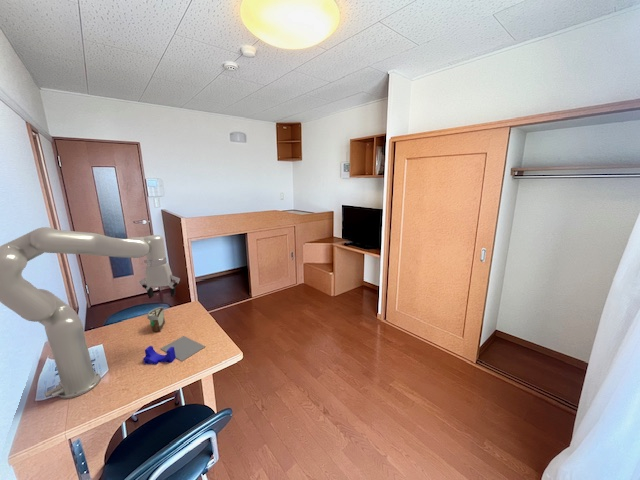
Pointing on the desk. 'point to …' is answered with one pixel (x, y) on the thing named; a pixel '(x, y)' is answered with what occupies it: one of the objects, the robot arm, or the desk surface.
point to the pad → (184, 348)
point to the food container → (157, 319)
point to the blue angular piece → (158, 356)
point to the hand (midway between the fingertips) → (162, 296)
